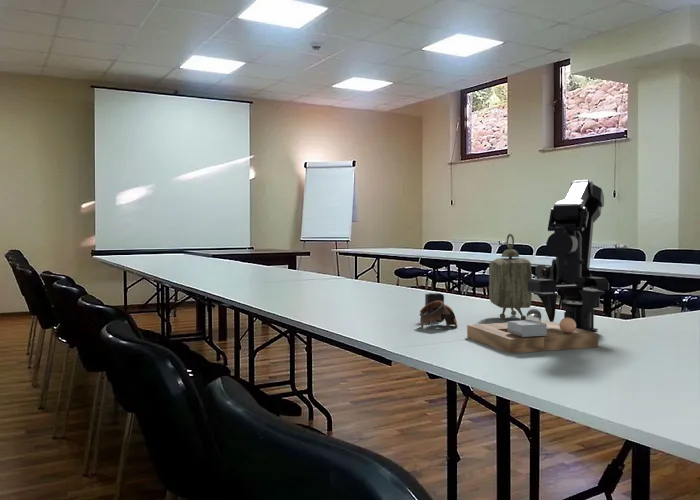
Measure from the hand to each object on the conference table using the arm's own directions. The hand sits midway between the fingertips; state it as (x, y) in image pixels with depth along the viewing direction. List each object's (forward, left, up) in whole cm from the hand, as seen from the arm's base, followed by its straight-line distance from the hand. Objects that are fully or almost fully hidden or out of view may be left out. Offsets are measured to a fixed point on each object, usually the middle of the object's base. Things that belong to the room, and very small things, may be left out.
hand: (568, 320), depth 141 cm
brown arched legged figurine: (+22, -26, -5) cm, 35 cm away
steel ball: (+10, 0, 0) cm, 10 cm away
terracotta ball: (+6, +8, 0) cm, 9 cm away
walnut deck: (+11, 0, -4) cm, 11 cm away
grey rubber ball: (+5, -7, 0) cm, 9 cm away
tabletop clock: (-3, -33, -5) cm, 34 cm away
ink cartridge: (+19, -37, -5) cm, 42 cm away
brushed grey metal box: (+16, +7, -1) cm, 17 cm away
